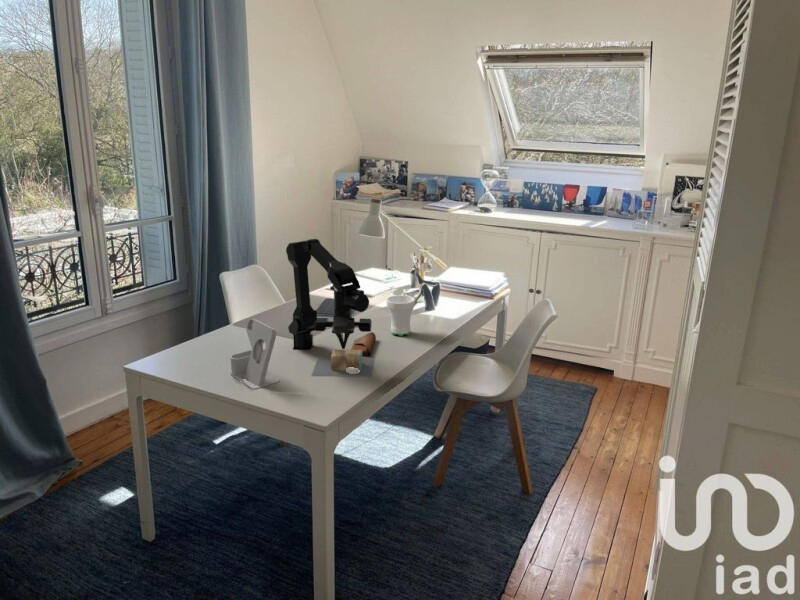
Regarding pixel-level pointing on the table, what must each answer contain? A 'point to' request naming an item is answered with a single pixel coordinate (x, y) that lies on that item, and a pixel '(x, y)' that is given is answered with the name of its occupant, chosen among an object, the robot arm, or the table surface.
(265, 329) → the phone holder
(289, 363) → the table surface
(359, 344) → the sunglasses case
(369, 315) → the table surface
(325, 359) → the rubber mat
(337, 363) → the oak block
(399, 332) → the cup
